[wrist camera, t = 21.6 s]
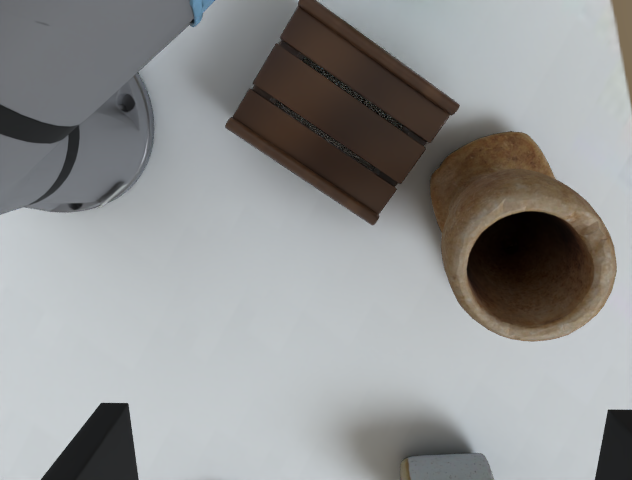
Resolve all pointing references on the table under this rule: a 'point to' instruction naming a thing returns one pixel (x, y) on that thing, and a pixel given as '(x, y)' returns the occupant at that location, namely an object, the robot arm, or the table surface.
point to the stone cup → (519, 240)
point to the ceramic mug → (446, 467)
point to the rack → (340, 111)
